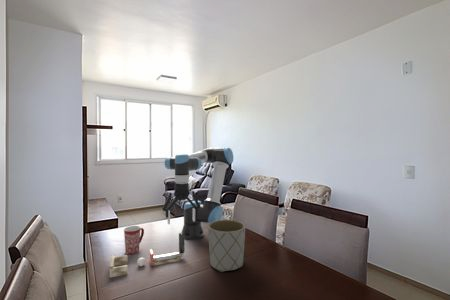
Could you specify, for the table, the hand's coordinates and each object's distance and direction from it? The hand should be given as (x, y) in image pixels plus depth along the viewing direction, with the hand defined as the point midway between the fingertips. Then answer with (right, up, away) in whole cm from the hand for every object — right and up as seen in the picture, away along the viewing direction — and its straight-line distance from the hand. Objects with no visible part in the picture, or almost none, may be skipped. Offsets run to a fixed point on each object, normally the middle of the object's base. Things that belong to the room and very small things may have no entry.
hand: (181, 222), depth 124 cm
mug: (-29, -20, +10) cm, 36 cm away
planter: (+24, -20, -6) cm, 32 cm away
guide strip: (-7, -20, -3) cm, 21 cm away
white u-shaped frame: (-7, -19, -3) cm, 21 cm away
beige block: (-28, -20, -12) cm, 37 cm away
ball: (-19, -18, -8) cm, 27 cm away
